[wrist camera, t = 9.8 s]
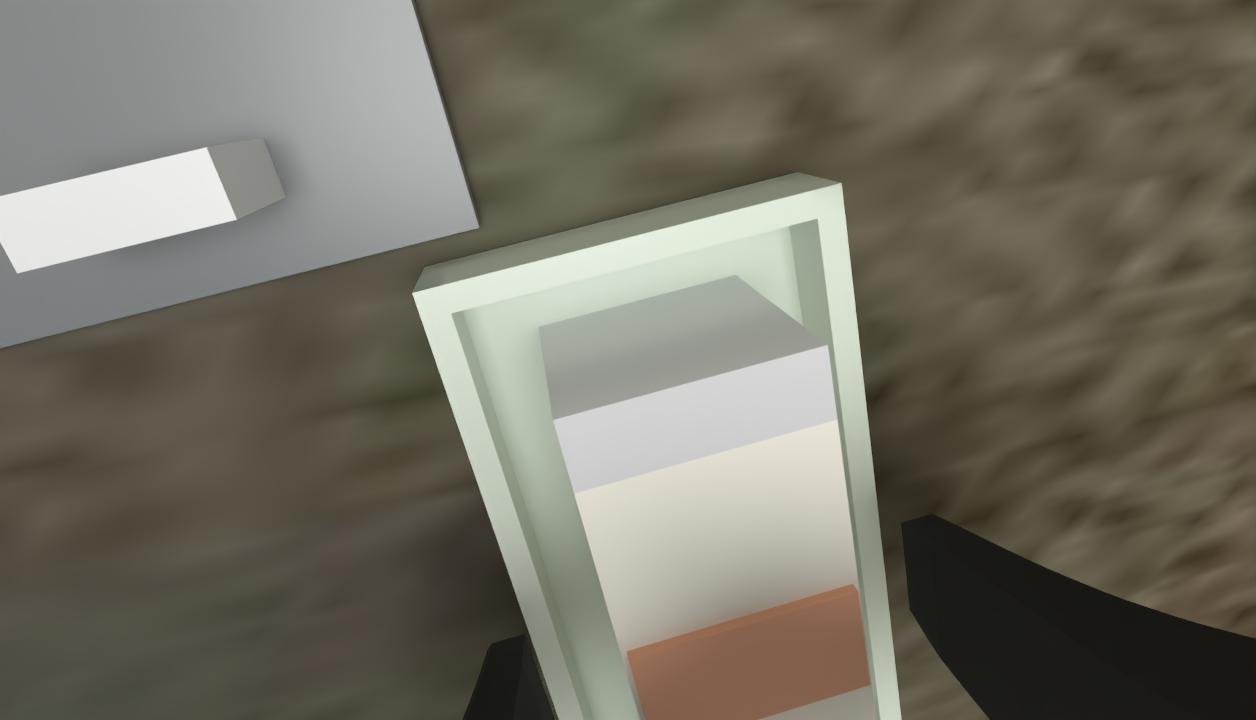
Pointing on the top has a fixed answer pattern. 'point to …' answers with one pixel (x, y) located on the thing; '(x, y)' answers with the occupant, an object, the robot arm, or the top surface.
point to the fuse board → (210, 150)
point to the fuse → (714, 504)
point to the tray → (522, 418)
